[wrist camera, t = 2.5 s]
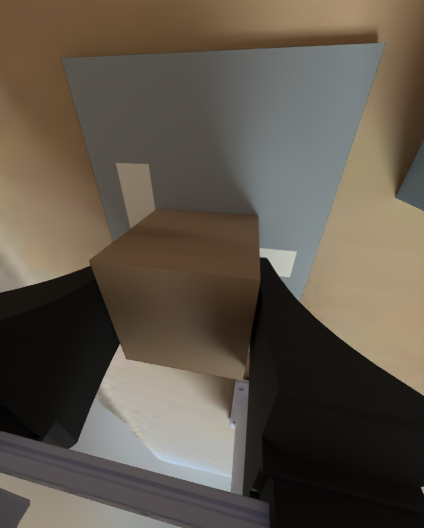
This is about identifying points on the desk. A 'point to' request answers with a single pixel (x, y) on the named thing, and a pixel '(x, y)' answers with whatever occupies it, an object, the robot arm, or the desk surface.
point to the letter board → (226, 137)
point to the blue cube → (414, 182)
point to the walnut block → (184, 289)
